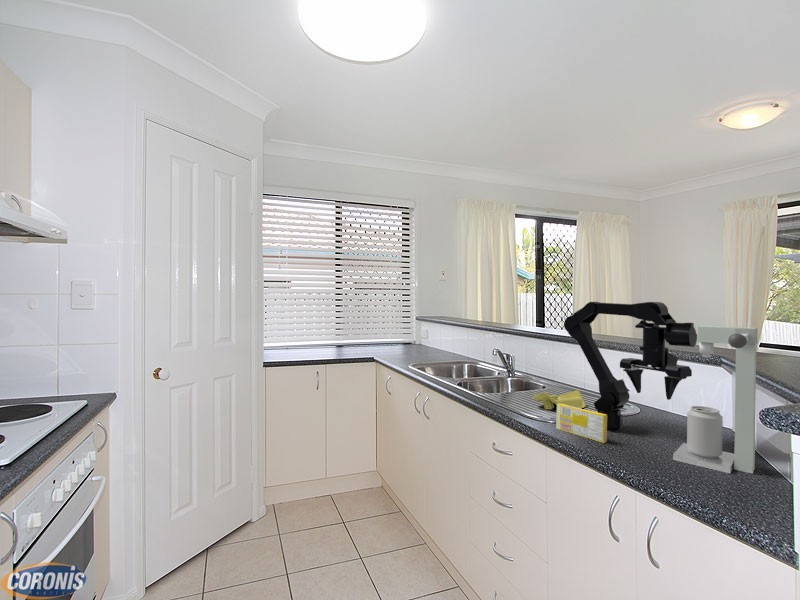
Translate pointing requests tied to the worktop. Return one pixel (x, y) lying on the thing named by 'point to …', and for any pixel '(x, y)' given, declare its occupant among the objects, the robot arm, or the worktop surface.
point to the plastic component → (561, 399)
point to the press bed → (705, 459)
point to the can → (704, 431)
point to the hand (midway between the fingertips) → (653, 396)
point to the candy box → (582, 422)
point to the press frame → (738, 385)
